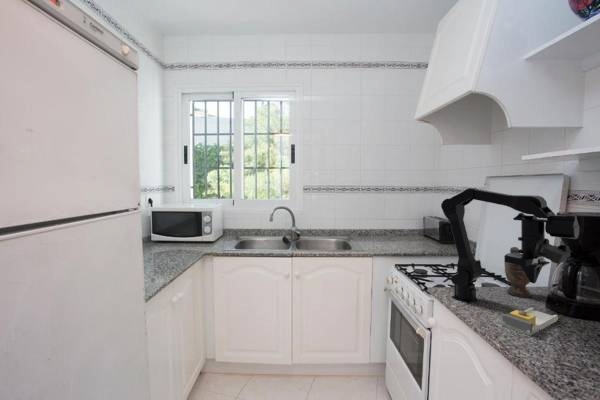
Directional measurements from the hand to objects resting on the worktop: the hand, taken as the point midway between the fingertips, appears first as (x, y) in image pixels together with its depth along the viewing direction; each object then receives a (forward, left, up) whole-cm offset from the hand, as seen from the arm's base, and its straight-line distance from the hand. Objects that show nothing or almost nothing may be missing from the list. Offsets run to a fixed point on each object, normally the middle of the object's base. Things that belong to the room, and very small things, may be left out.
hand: (532, 282), depth 89 cm
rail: (+1, -4, -12) cm, 13 cm away
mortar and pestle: (-12, +18, -12) cm, 25 cm away
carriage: (+1, -9, -11) cm, 14 cm away
